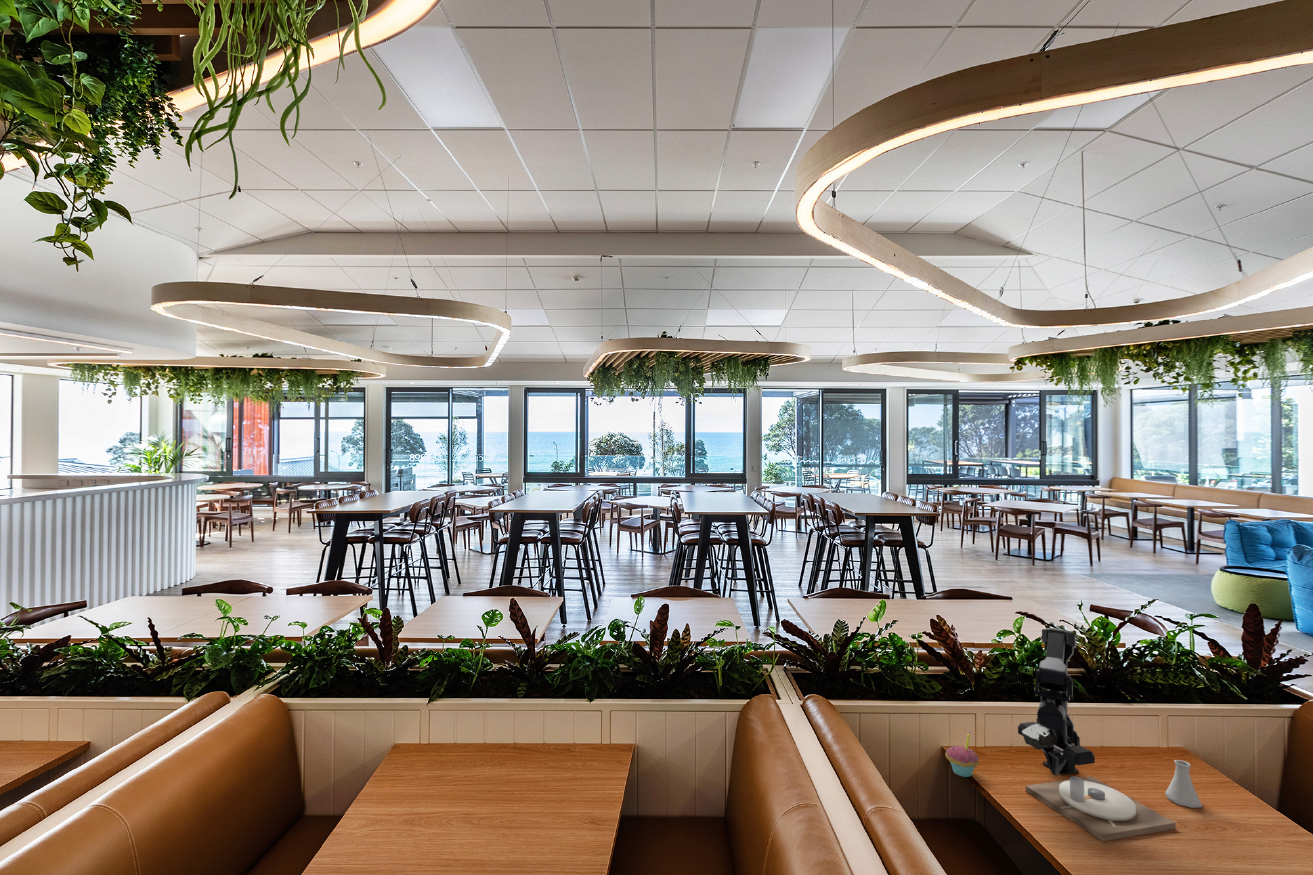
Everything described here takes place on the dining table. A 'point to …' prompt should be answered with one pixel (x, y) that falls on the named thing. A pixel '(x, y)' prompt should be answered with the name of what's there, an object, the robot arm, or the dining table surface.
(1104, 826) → the dial base
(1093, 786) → the dial
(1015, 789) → the dining table surface
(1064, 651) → the robot arm
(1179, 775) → the flask
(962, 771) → the cupcake
